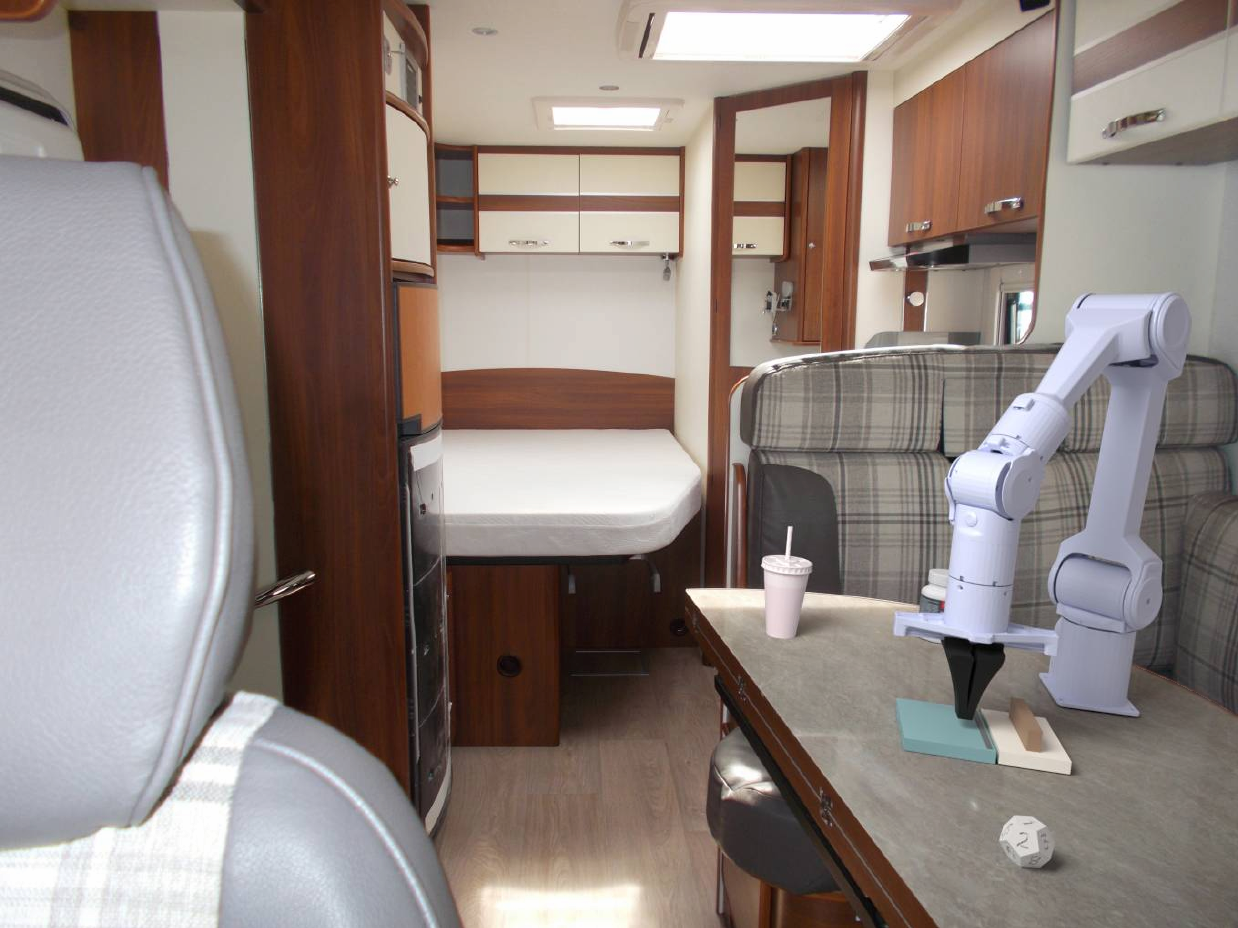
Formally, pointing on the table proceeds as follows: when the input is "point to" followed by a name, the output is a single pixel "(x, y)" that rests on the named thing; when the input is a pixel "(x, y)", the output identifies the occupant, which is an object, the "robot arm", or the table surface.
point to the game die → (1027, 841)
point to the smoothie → (784, 591)
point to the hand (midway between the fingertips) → (963, 715)
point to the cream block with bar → (1025, 739)
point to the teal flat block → (943, 731)
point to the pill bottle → (934, 595)
